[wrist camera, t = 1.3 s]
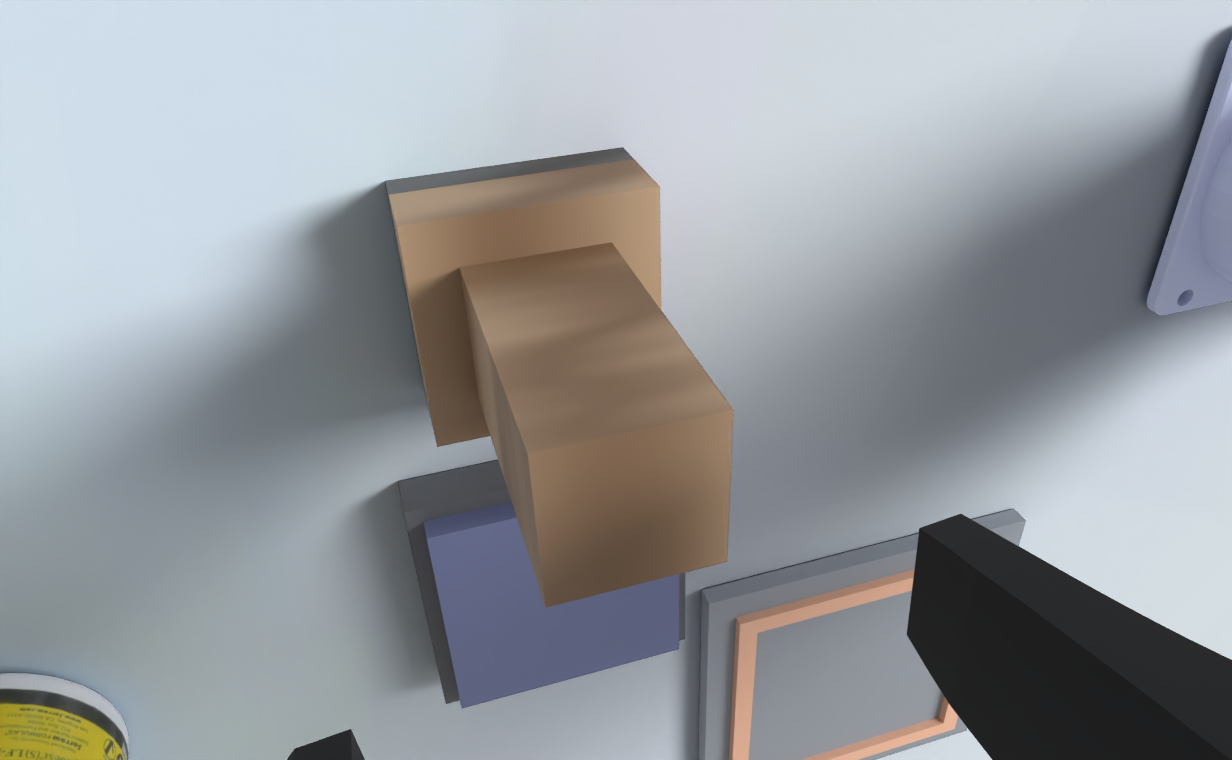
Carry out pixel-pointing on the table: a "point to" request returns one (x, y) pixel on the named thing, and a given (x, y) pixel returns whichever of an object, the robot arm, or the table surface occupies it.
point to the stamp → (567, 364)
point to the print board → (822, 660)
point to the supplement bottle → (57, 721)
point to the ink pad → (516, 596)
